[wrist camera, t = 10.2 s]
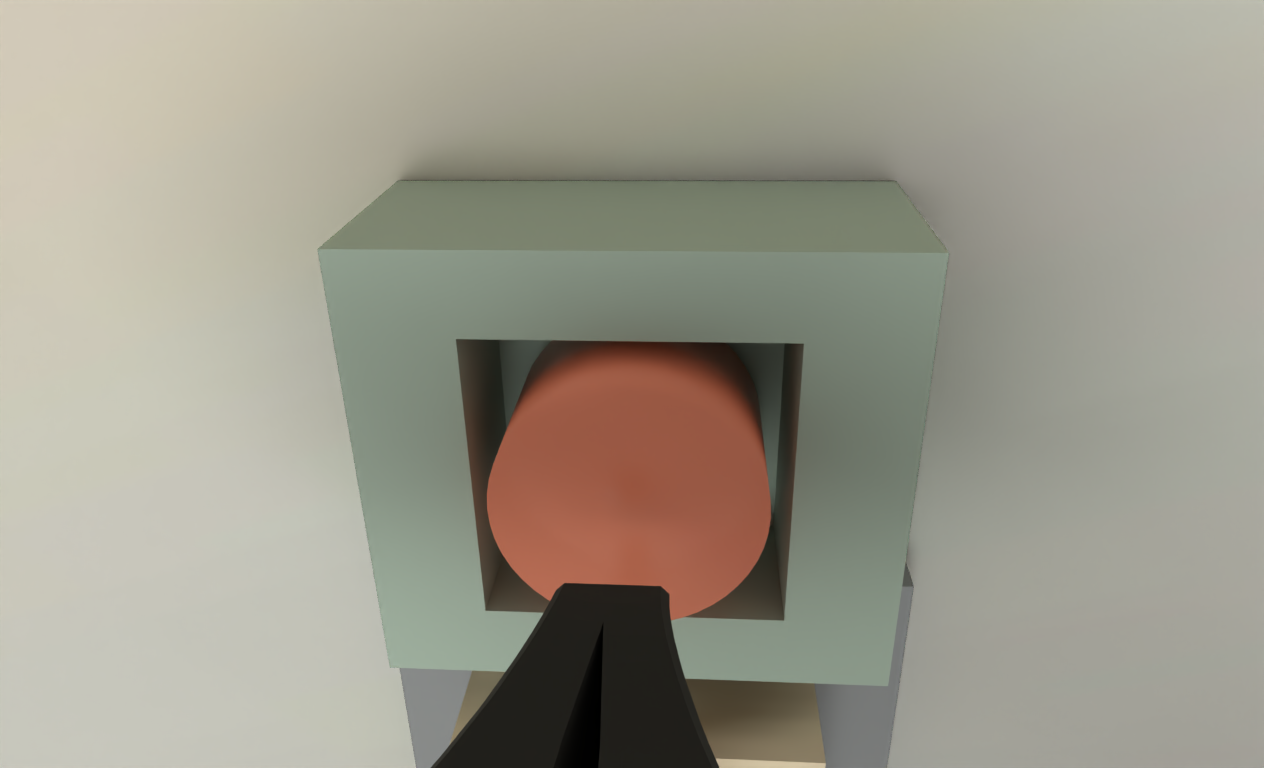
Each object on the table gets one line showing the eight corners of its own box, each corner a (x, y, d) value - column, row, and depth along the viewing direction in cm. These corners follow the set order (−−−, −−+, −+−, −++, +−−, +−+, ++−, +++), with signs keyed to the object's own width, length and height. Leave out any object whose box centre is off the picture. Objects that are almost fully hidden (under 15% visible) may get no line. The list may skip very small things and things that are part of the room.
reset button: (766, 309, 16) (778, 388, 13) (754, 522, 18) (764, 629, 15) (511, 307, 16) (474, 384, 14) (528, 516, 18) (498, 619, 16)
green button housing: (896, 180, 16) (949, 252, 13) (855, 549, 20) (887, 686, 16) (398, 180, 17) (317, 249, 14) (444, 538, 21) (389, 667, 17)
